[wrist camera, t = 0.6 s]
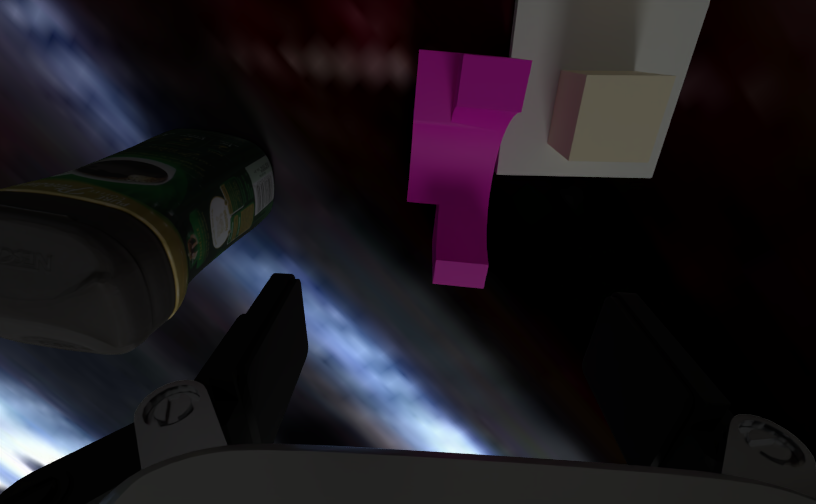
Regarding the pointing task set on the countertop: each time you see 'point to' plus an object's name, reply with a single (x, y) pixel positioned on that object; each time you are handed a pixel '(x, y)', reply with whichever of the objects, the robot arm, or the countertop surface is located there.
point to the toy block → (461, 151)
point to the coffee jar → (124, 238)
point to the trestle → (597, 84)
